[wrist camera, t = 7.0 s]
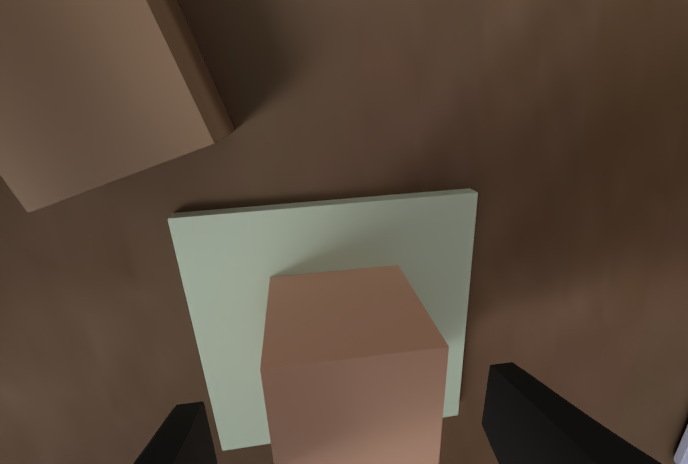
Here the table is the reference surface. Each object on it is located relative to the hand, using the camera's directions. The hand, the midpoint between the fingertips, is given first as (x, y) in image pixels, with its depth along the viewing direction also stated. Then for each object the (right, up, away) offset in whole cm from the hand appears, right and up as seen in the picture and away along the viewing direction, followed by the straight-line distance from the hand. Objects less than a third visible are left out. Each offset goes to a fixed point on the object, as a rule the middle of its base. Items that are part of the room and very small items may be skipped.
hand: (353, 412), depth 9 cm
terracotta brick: (0, +2, +3) cm, 3 cm away
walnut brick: (-6, +8, 0) cm, 10 cm away
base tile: (-1, +2, +4) cm, 4 cm away
